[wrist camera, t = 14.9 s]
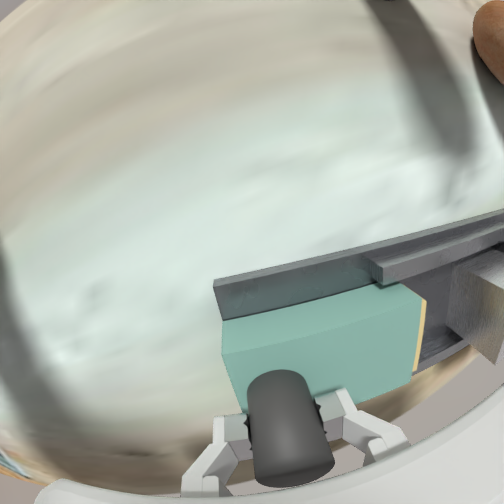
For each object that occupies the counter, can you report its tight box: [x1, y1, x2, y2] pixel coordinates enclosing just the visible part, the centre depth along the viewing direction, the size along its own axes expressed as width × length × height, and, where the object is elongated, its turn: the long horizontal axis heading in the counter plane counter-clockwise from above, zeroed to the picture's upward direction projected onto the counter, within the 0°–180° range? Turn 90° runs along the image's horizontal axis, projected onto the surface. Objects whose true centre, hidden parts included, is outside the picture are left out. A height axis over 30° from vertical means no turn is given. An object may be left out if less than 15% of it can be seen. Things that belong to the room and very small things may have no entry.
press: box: [213, 209, 504, 376], centre depth 13 cm, size 10×26×6 cm, turn 102°
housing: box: [446, 248, 504, 365], centre depth 12 cm, size 5×5×7 cm
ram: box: [221, 281, 427, 488], centre depth 11 cm, size 6×11×8 cm, turn 102°
